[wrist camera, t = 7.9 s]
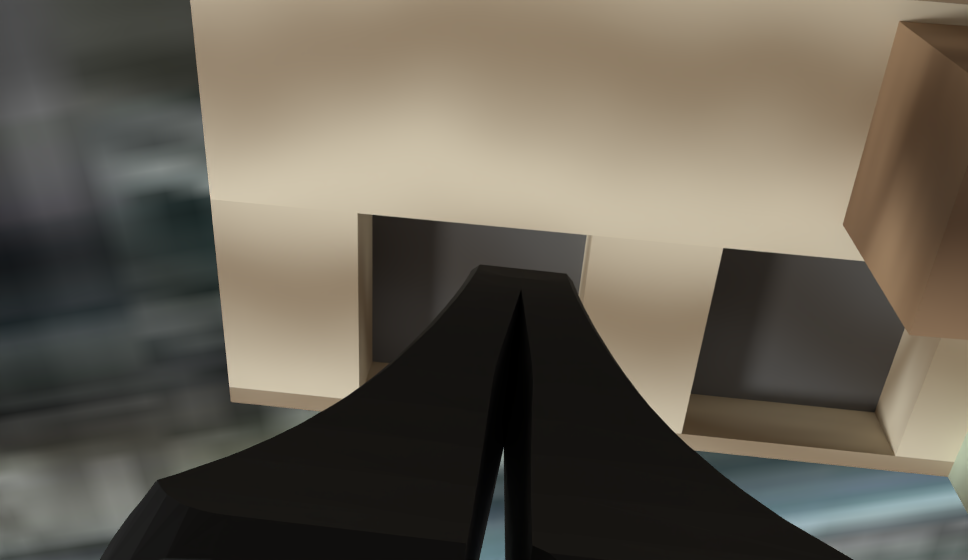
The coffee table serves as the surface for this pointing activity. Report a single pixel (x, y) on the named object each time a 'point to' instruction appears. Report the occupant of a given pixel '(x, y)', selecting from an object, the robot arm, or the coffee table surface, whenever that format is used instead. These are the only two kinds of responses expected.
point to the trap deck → (576, 203)
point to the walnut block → (918, 182)
